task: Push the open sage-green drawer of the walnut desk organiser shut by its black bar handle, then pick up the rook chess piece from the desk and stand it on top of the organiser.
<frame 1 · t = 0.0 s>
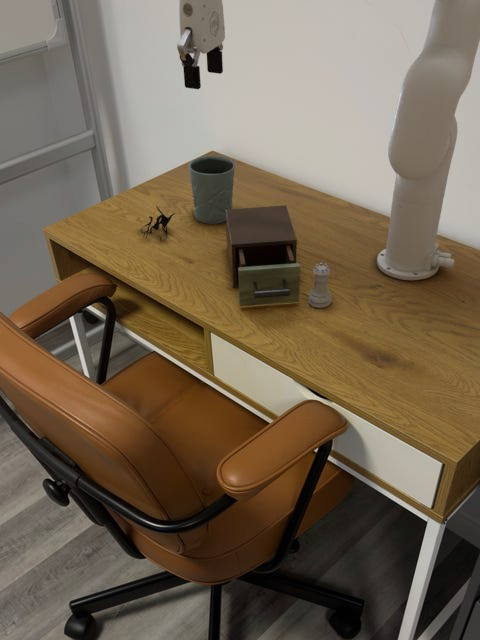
hand: (204, 80, 138), 31 cm above the table, tool pointing down, fingers open, 9 cm apart
rook chess piece: (319, 303, 136), on the table
cabinet: (260, 266, 147), on the table
drawer: (266, 274, 135), point 5 cm above the table, slide at 7.0 cm
creature: (157, 235, 158), on the table
grey green cup: (214, 215, 164), on the table
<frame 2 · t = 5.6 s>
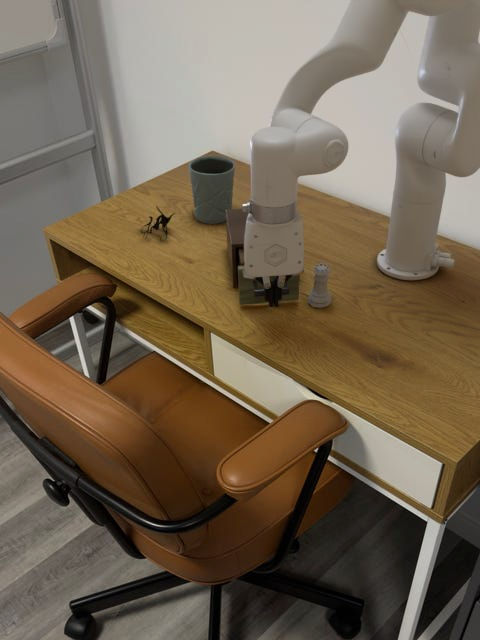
hand: (272, 303, 128), 5 cm above the table, tool pointing down, fingers closed
drawer: (266, 272, 136), point 5 cm above the table, slide at 6.5 cm
everything else where it was.
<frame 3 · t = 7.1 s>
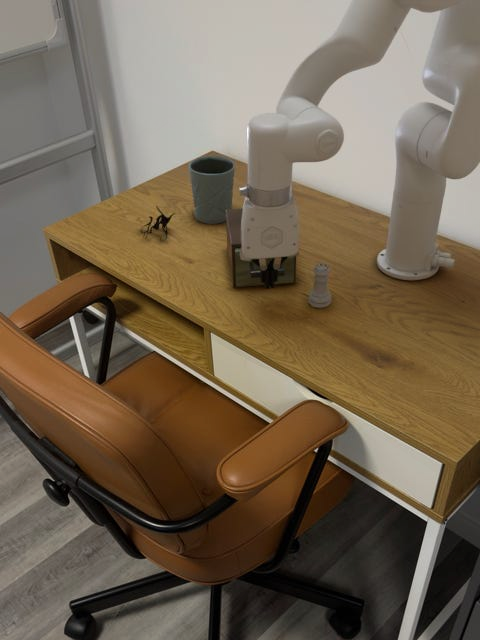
hand: (268, 284, 133), 5 cm above the table, tool pointing down, fingers closed
drawer: (262, 255, 140), point 5 cm above the table, slide at 0.0 cm, touching cabinet, gripper
everything else where it was.
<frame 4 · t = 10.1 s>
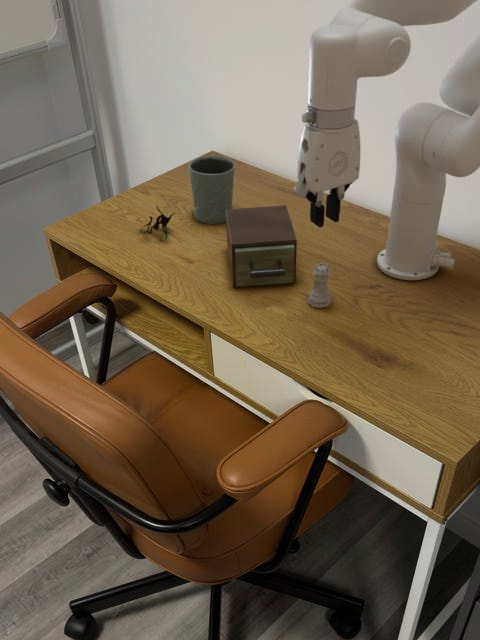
hand: (324, 220, 124), 17 cm above the table, tool pointing down, fingers closed
drawer: (262, 255, 140), point 5 cm above the table, slide at 0.0 cm, touching cabinet
everything else where it was.
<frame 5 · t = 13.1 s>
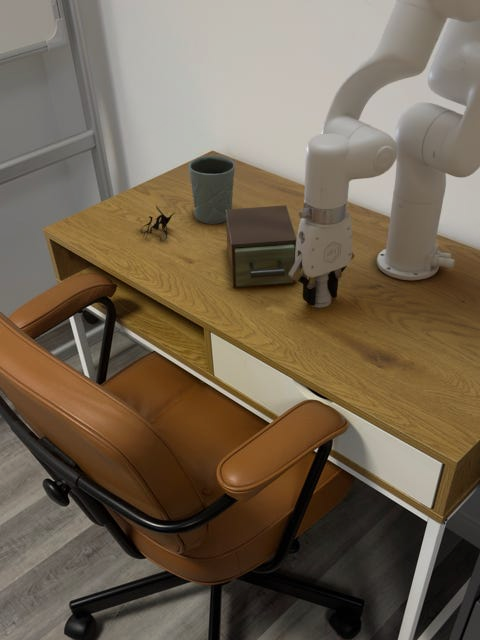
hand: (319, 297, 135), 1 cm above the table, tool pointing down, fingers closed on rook chess piece, 4 cm apart
rook chess piece: (319, 303, 136), on the table, touching gripper
everything else where it was.
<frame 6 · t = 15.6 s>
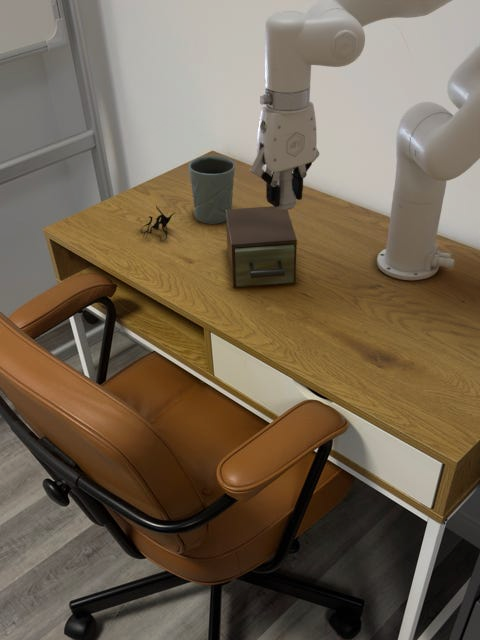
hand: (284, 199, 130), 17 cm above the table, tool pointing down, fingers closed on rook chess piece, 4 cm apart
rook chess piece: (284, 206, 131), point 16 cm above the table, touching gripper
everything else where it was.
when the fingers open (11 cm above the table, at t = 18.1 s): rook chess piece stays where it is, resting on cabinet.
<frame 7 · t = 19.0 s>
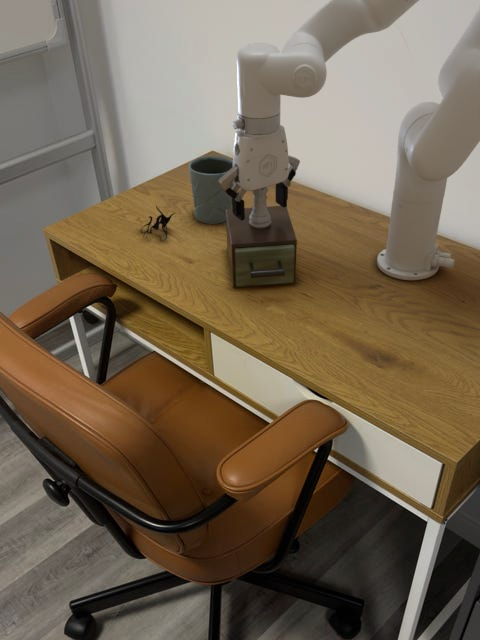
hand: (260, 211, 138), 12 cm above the table, tool pointing down, fingers open, 9 cm apart
rook chess piece: (260, 224, 140), point 9 cm above the table, touching cabinet
everything else where it was.
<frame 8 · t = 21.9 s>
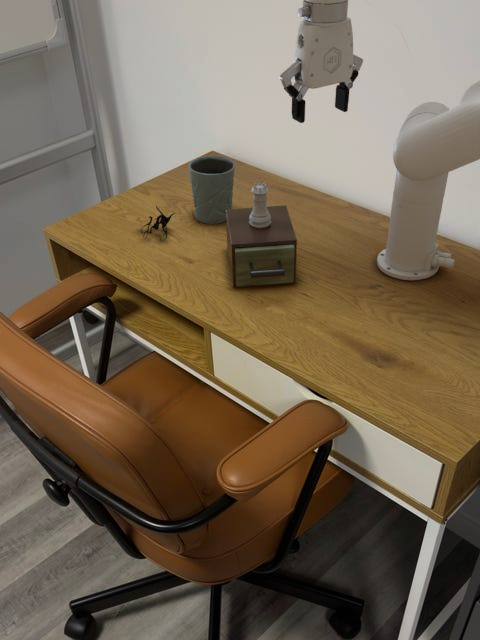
hand: (320, 115, 131), 28 cm above the table, tool pointing down, fingers open, 9 cm apart
nothing on the table moved.
at the end: drawer slide at 0.0 cm; rook chess piece inside the target area on the cabinet (0.0 cm from its centre), point 9.4 cm above the cabinet's base; rook chess piece tilted 0° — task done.
